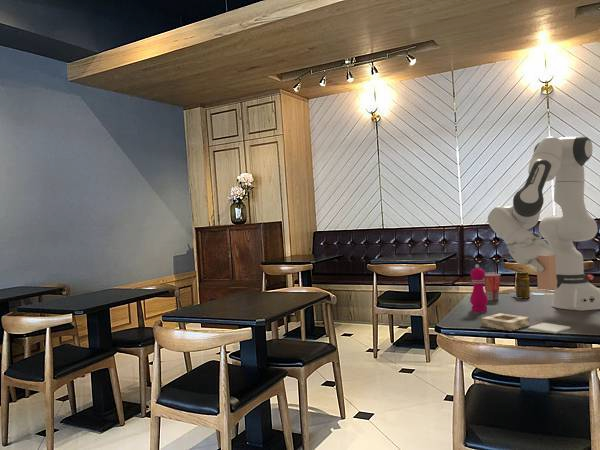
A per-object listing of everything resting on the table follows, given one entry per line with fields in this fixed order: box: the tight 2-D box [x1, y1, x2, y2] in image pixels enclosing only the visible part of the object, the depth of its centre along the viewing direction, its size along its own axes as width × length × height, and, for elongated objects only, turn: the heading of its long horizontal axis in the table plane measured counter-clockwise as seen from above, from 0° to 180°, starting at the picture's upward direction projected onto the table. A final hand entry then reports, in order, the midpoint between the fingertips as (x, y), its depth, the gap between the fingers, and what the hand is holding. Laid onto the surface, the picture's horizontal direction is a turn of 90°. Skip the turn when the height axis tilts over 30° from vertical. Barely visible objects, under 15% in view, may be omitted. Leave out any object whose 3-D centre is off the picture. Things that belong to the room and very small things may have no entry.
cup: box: [483, 272, 502, 301], centre depth 237 cm, size 9×8×12 cm
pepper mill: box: [469, 263, 489, 313], centre depth 213 cm, size 7×7×20 cm
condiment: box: [515, 271, 531, 298], centre depth 238 cm, size 7×8×12 cm
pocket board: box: [480, 312, 531, 332], centre depth 184 cm, size 12×12×3 cm
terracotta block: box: [536, 254, 557, 291], centre depth 176 cm, size 4×4×12 cm
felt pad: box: [527, 322, 572, 334], centre depth 176 cm, size 10×10×1 cm
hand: (548, 269), depth 175 cm, fingers closed on terracotta block, 4 cm apart
